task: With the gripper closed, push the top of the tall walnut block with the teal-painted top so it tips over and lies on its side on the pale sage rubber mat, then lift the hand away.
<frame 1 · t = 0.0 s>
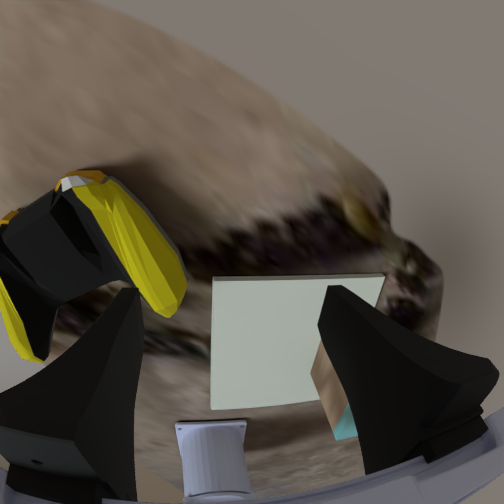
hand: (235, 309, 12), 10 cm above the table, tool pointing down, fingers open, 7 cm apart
sage mat: (289, 349, 28), on the table
walnut block: (336, 349, 28), point 1 cm above the table, touching sage mat
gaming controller: (76, 247, 20), on the table
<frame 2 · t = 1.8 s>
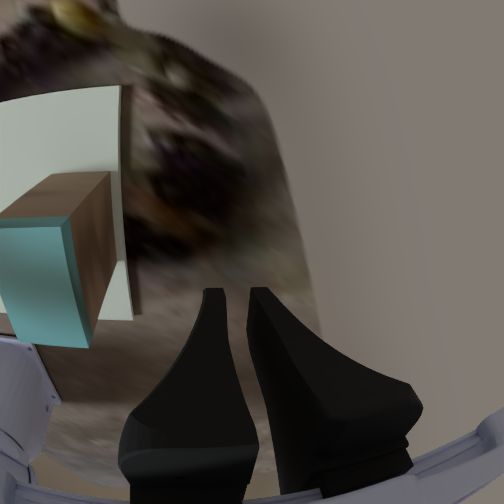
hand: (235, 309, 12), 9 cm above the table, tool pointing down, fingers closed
sage mat: (29, 217, 18), on the table
walnut block: (83, 218, 18), point 1 cm above the table, touching sage mat
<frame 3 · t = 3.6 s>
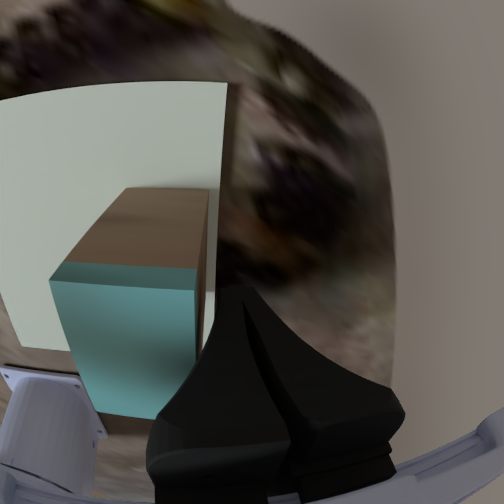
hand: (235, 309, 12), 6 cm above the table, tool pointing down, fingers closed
sage mat: (88, 239, 16), on the table
walnut block: (167, 246, 16), point 1 cm above the table, tilted 5°, touching gripper, sage mat
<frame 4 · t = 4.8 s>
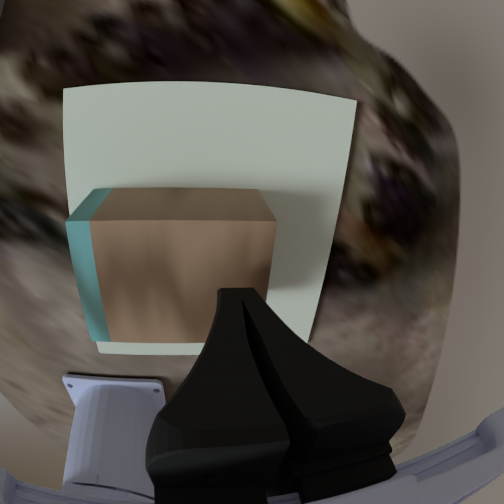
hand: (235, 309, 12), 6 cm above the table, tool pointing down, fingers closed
sage mat: (203, 239, 17), on the table
walnut block: (259, 264, 15), point 3 cm above the table, tilted 90°, touching sage mat
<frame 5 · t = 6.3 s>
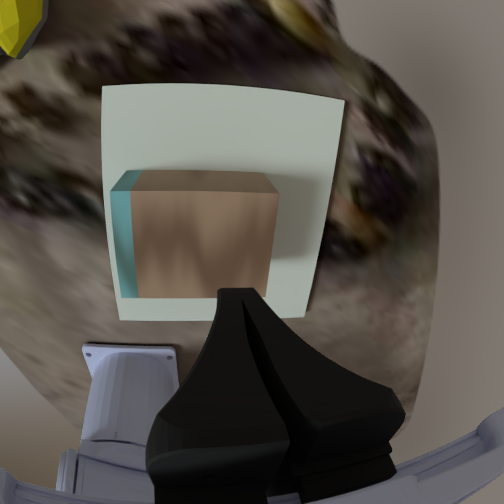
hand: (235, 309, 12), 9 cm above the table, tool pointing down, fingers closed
sage mat: (217, 214, 20), on the table
walnut block: (264, 233, 18), point 3 cm above the table, tilted 90°, touching sage mat
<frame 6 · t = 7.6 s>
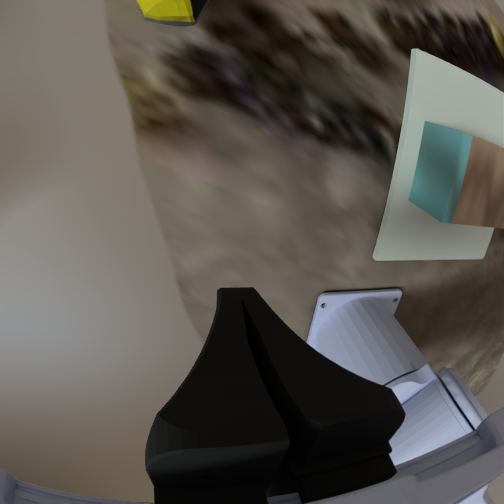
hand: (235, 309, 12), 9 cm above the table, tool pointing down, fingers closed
sage mat: (460, 170, 21), on the table
walnut block: (498, 184, 20), point 3 cm above the table, tilted 90°, touching sage mat
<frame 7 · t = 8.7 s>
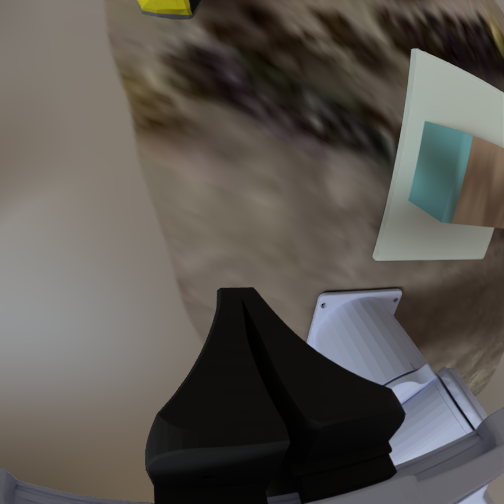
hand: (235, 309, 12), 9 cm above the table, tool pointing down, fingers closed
sage mat: (460, 170, 21), on the table
walnut block: (498, 184, 20), point 3 cm above the table, tilted 90°, touching sage mat
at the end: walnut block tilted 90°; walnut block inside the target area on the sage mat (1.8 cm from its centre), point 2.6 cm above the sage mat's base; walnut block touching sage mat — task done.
